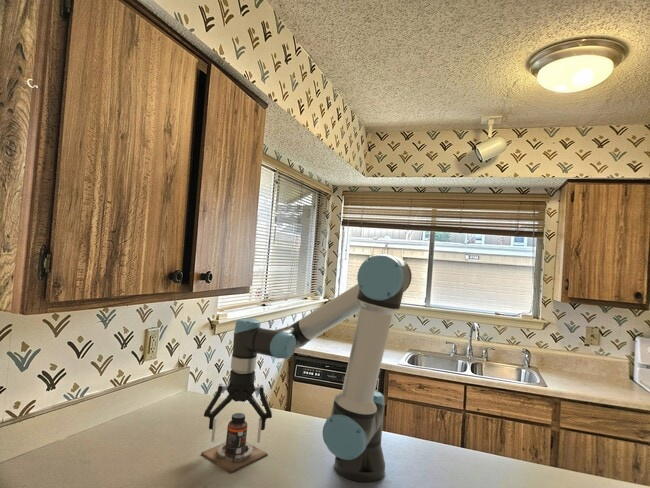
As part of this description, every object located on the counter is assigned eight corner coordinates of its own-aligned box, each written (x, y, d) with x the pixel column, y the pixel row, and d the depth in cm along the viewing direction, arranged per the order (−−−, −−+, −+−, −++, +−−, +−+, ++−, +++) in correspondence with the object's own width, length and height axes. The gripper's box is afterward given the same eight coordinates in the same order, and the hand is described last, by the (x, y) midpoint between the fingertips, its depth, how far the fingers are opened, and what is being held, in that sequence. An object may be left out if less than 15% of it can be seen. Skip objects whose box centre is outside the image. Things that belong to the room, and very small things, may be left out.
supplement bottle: (244, 458, 113) (247, 419, 114) (223, 457, 112) (227, 419, 113) (245, 448, 119) (249, 411, 119) (226, 447, 118) (229, 410, 119)
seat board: (267, 455, 117) (267, 453, 117) (231, 473, 106) (231, 471, 106) (237, 439, 125) (237, 437, 125) (201, 454, 114) (201, 452, 114)
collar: (259, 453, 117) (260, 449, 117) (232, 466, 108) (232, 462, 108) (237, 441, 123) (237, 437, 123) (209, 452, 115) (210, 448, 115)
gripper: (282, 367, 123) (276, 434, 122) (202, 364, 118) (195, 433, 118) (284, 375, 115) (277, 446, 114) (199, 371, 111) (191, 445, 110)
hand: (236, 440), depth 116 cm, fingers open, 13 cm apart
